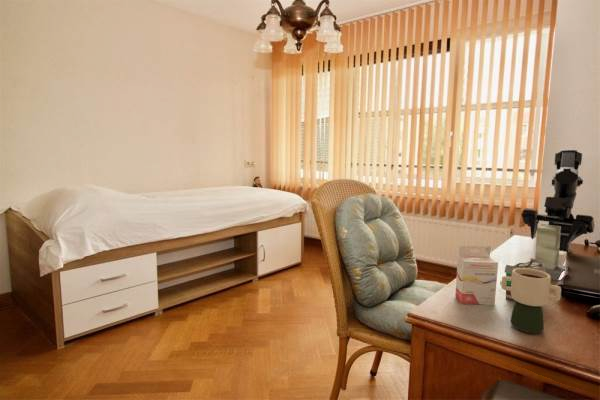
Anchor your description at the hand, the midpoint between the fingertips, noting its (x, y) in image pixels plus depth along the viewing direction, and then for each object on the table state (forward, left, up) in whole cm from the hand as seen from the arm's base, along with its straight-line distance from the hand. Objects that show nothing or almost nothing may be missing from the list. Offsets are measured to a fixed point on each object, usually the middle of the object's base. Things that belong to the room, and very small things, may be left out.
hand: (548, 241), depth 108 cm
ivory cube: (-13, -1, -11) cm, 17 cm away
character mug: (+43, +8, -11) cm, 45 cm away
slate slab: (-1, 0, -12) cm, 12 cm away
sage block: (-2, 0, -8) cm, 9 cm away
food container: (+26, +3, -11) cm, 28 cm away
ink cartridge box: (+37, -6, -11) cm, 39 cm away
